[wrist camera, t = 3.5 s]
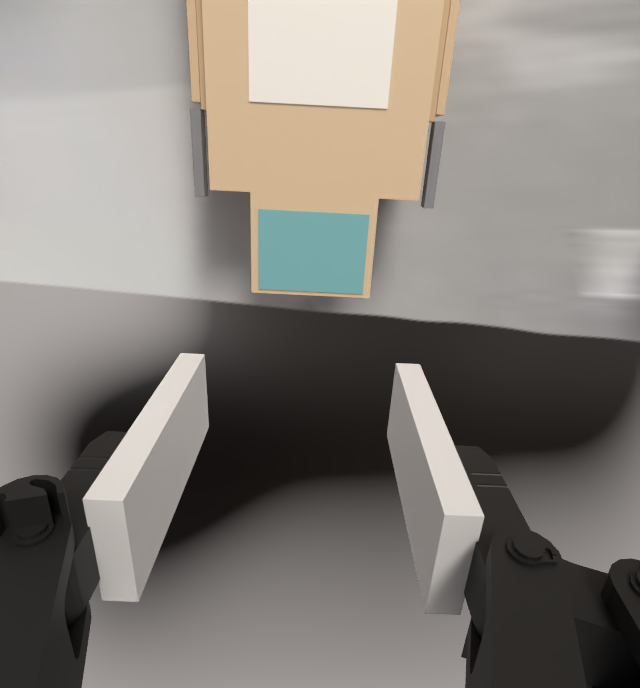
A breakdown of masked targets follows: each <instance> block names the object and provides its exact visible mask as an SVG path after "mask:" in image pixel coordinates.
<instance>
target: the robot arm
mask: <svg viewBox="0 0 640 688" xmlns="http://www.w3.org/2000/svg"><path fill="white" fill-rule="evenodd" d="M208 427H209V423H208V405H207V387H206V369H205V355H204V354H187V353H181V354H180V355H179V356H178V358H177V359H176V361H175V363H174V364H173V365H172V367H171V368H170V370H169V371H168V373H167V374H166V376H165V377H164V379H163V380H162V382H161V383H160V385H159V386H158V388H157V389H156V391H155V392H154V394H153V395H152V397H151V398H150V400H149V401H148V403H147V404H146V405H145V407H144V408H143V410H142V412H141V413H140V414H139V416H138V417H137V419H136V420H135V422H134V423H133V425H132V426H131V428H130V429H129V431H128V432H112V431H107V432H106V433H104V434H102V435H101V436H99V437H98V438H97V439H95V440H93V441H92V442H90V444H89V445H88V446H87V447H86V449H85V450H84V451H83V452H82V454H81V455H80V458H79V459H77V460H76V461H75V463H74V464H73V465H72V467H71V470H69V471H68V472H67V473H66V474H65V476H64V477H63V478H62V480H61V481H60V480H59V479H58V478H56V477H52V476H48V475H33V476H29V477H24V478H20V479H17V480H15V481H12V482H10V483H8V484H6V485H3V486H2V487H0V688H81V686H82V680H83V673H84V666H85V659H86V652H87V645H88V637H89V631H90V624H91V609H90V604H89V600H90V598H91V596H92V594H93V592H94V590H95V588H96V586H97V584H98V582H99V586H100V591H101V595H102V600H105V601H106V600H107V601H132V602H138V601H139V599H140V597H141V594H142V592H143V589H144V587H145V584H146V582H147V579H148V577H149V574H150V572H151V569H152V567H153V564H154V562H155V559H156V557H157V554H158V552H159V550H160V547H161V545H162V542H163V540H164V537H165V534H166V532H167V530H168V527H169V525H170V522H171V520H172V517H173V515H174V512H175V510H176V507H177V505H178V502H179V500H180V497H181V495H182V492H183V490H184V487H185V484H186V482H187V480H188V477H189V475H190V472H191V470H192V467H193V465H194V462H195V460H196V457H197V455H198V452H199V450H200V448H201V445H202V442H203V440H204V438H205V435H206V433H207V430H208ZM387 437H388V442H389V447H390V451H391V456H392V461H393V466H394V470H395V475H396V480H397V484H398V489H399V494H400V498H401V503H402V507H403V513H404V517H405V522H406V527H407V531H408V536H409V541H410V546H411V550H412V555H413V559H414V564H415V569H416V574H417V578H418V583H419V588H420V592H421V597H422V602H423V607H424V611H425V613H426V614H451V615H460V614H461V610H462V606H463V602H464V598H466V601H467V605H468V608H469V611H470V614H471V621H470V625H469V629H468V633H467V636H466V640H465V644H464V648H463V652H462V656H461V657H463V658H466V659H467V660H466V684H465V688H640V561H639V560H635V559H620V560H618V561H617V562H615V563H613V564H612V565H611V568H610V570H609V573H608V574H607V573H603V572H600V571H597V570H593V569H590V568H587V567H583V566H580V565H577V564H574V563H571V562H568V561H566V560H564V559H562V558H561V555H560V553H559V551H558V550H557V549H556V548H555V547H554V546H553V545H552V544H551V542H550V541H548V540H547V539H545V538H544V537H542V536H541V535H539V534H538V533H535V532H533V531H531V530H530V528H529V526H528V525H527V523H526V521H525V519H524V517H523V515H522V513H521V512H520V510H519V508H518V506H517V504H516V502H515V500H514V498H513V496H512V494H511V492H510V490H509V489H508V488H507V485H506V483H505V481H504V479H503V477H502V476H500V472H499V470H498V468H497V466H496V464H495V463H494V460H493V459H492V458H491V457H490V456H489V455H488V454H486V453H485V452H484V451H483V450H482V449H481V448H480V447H476V446H475V447H474V446H455V445H454V444H453V441H452V439H451V437H450V434H449V432H448V430H447V427H446V425H445V423H444V420H443V418H442V416H441V413H440V411H439V409H438V406H437V404H436V401H435V399H434V397H433V394H432V392H431V390H430V387H429V385H428V383H427V380H426V378H425V376H424V373H423V371H422V369H421V366H420V364H401V363H396V367H395V375H394V383H393V392H392V400H391V407H390V415H389V423H388V431H387Z"/></svg>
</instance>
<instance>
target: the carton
mask: <svg viewBox="0 0 640 688" xmlns="http://www.w3.org/2000/svg"><path fill="white" fill-rule="evenodd" d="M186 4H187V22H188V40H189V58H190V76H191V95H192V102H195V103H199V104H201V109H190V115H191V133H192V150H193V168H194V186H195V196H197V197H205V196H208V181H207V159H206V137H205V116H204V110H206V89H205V66H204V44H203V21H202V0H186ZM459 6H460V0H444V8H443V15H442V23H441V31H440V39H439V47H438V55H437V62H436V70H435V78H434V86H433V94H432V102H431V110H430V117H429V122H432V125H431V132H430V140H429V148H428V156H427V163H426V171H425V179H424V186H423V194H422V202H421V206H422V207H423V208H433V207H434V200H435V193H436V185H437V178H438V171H439V164H440V157H441V150H442V143H443V135H444V128H445V122H435V117H436V116H441V115H444V114H445V107H446V100H447V92H448V85H449V78H450V71H451V64H452V56H453V49H454V42H455V35H456V27H457V20H458V13H459Z"/></svg>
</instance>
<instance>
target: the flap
mask: <svg viewBox="0 0 640 688" xmlns="http://www.w3.org/2000/svg"><path fill="white" fill-rule="evenodd" d="M443 8H444V0H202V21H203V44H204V66H205V89H206V112H207V134H208V157H209V179H210V190H220V191H240V192H250V208H251V293H272V294H292V295H313V296H334V297H355V298H370V288H371V277H372V266H373V256H374V245H375V235H376V224H377V213H378V203H379V199H397V200H417V201H419V196H420V188H421V180H422V172H423V165H424V157H425V149H426V141H427V133H428V125H429V117H430V110H431V102H432V94H433V86H434V78H435V70H436V62H437V55H438V47H439V39H440V31H441V23H442V15H443Z"/></svg>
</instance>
